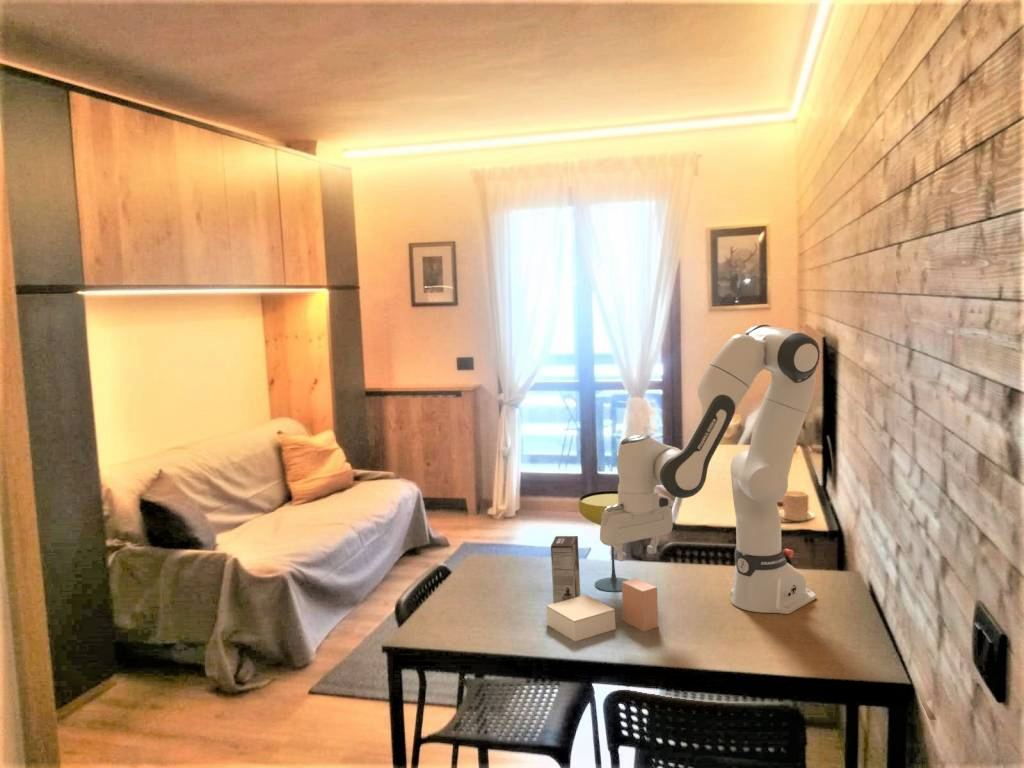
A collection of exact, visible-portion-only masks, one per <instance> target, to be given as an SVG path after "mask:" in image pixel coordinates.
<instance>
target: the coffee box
mask: <svg viewBox="0 0 1024 768" xmlns="http://www.w3.org/2000/svg"><path fill="white" fill-rule="evenodd" d="M550 555H551V574H552V575H551V578H552V579H551V581H552V598H553V604H554V603H558V602H561V601H565V600H569V599H572V598H576V597H580V593H581V583H580V582H581V580H580V579H581V578H580V556H579V536H578V535H570V536H569V535H556V536H554V539H553V541H552V543H551V545H550Z"/></svg>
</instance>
